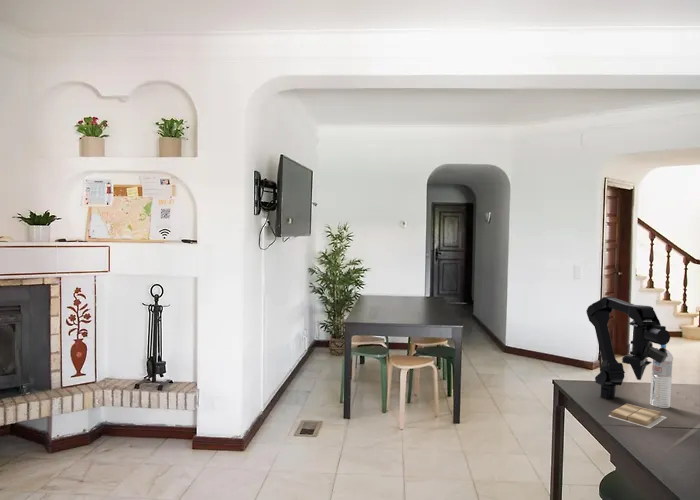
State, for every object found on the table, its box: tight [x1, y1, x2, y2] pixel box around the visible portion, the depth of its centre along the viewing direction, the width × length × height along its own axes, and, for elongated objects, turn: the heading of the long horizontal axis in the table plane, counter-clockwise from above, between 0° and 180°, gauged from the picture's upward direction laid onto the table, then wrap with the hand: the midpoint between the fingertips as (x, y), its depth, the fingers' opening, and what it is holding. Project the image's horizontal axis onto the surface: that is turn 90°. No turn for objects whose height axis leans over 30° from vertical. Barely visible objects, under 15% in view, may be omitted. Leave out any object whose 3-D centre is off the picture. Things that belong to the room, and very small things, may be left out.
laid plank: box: [610, 403, 643, 421], centre depth 188 cm, size 15×6×2 cm, turn 131°
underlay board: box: [608, 414, 668, 429], centre depth 185 cm, size 17×14×1 cm
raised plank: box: [628, 407, 662, 425], centre depth 184 cm, size 15×6×2 cm, turn 131°
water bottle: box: [649, 344, 674, 409], centre depth 199 cm, size 7×7×25 cm
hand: (638, 379), depth 191 cm, fingers closed
